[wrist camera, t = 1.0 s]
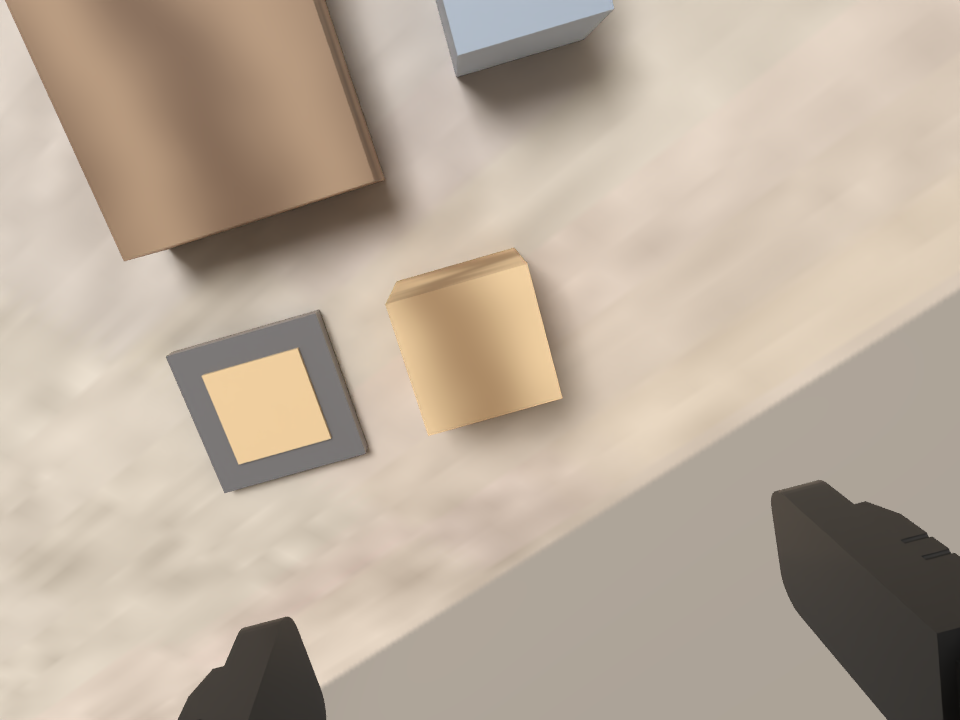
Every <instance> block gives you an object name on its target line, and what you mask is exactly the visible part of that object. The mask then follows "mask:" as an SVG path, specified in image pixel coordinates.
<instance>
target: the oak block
mask: <svg viewBox="0 0 960 720" xmlns="http://www.w3.org/2000/svg"><path fill="white" fill-rule="evenodd" d="M385 305H386V308H387V311H388V314H389V317H390V320H391V323H392V326H393V329H394V332H395V335H396V338H397V341H398V344H399V347H400V351H401V354H402V357H403V360H404V363H405V366H406V369H407V372H408V375H409V378H410V381H411V384H412V387H413V390H414V393H415V396H416V399H417V403H418V406H419V409H420V412H421V415H422V418H423V421H424V424H425V427H426V430H427V433H428V436H430V435H433V434H437V433H441V432H444V431H448V430H451V429H455V428H458V427H462V426H466V425H469V424H473V423H476V422H480V421H483V420H487V419H491V418H494V417H498V416H501V415H505V414H509V413H512V412H516V411H519V410H523V409H526V408H530V407H534V406H537V405H541V404H544V403H548V402H551V401H555V400H559V399H562V394H561V391H560V387H559V383H558V379H557V375H556V371H555V368H554V364H553V360H552V356H551V352H550V348H549V345H548V341H547V337H546V333H545V329H544V325H543V322H542V318H541V314H540V310H539V306H538V303H537V299H536V295H535V291H534V287H533V283H532V280H531V276H530V272H529V268H528V264H527V263H526V262H525V260H524V259H523V258H522V257H521V255H520V254H519V253H518V252H517V251H516V249H515V248H511V249H508V250H504V251H501V252H497V253H494V254H490V255H487V256H483V257H480V258H476V259H473V260H469V261H466V262H463V263H459V264H456V265H452V266H449V267H445V268H442V269H438V270H435V271H431V272H428V273H424V274H421V275H417V276H414V277H410V278H407V279H404V280H400V281H397V282H396V284H395V286H394V288H393V290H392V292H391V294H390V296H389V298H388V300H387V302H386V304H385Z"/></svg>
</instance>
